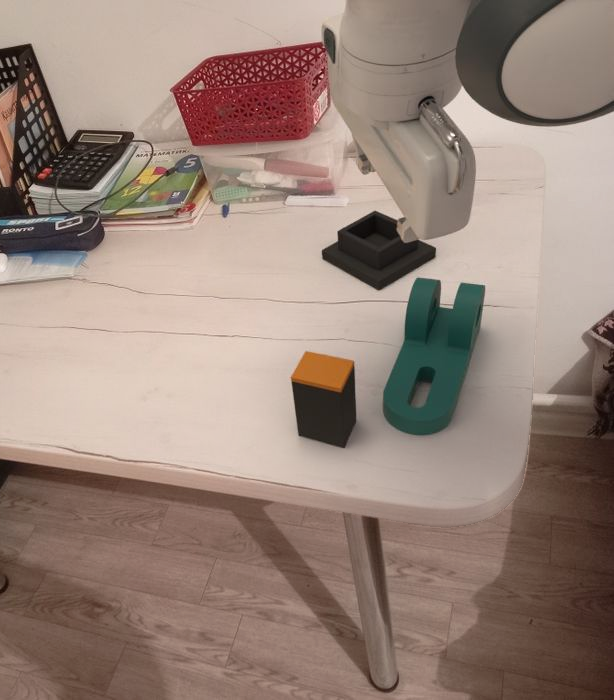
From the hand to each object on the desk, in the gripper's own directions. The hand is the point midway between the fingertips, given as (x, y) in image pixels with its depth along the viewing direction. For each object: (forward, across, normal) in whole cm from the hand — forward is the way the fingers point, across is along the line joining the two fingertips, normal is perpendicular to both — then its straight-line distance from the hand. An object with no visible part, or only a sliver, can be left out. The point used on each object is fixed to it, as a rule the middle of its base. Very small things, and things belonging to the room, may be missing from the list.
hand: (387, 200), depth 57 cm
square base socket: (+26, +14, -6) cm, 31 cm away
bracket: (+20, -8, -3) cm, 22 cm away
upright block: (+19, -12, +10) cm, 24 cm away
